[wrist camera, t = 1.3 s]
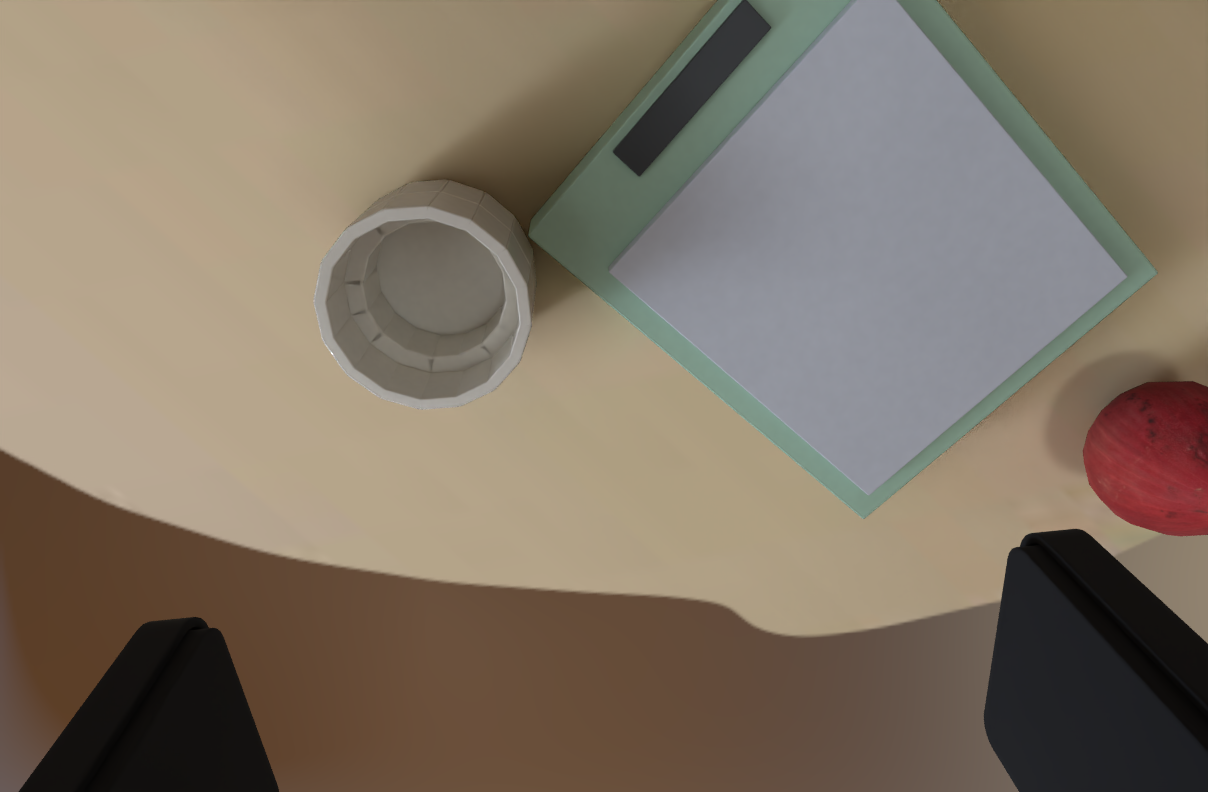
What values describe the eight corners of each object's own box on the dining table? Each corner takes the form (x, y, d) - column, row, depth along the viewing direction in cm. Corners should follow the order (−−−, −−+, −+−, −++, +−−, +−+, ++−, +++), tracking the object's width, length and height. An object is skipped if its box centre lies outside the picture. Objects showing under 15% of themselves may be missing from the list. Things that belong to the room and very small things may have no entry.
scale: (530, 220, 29) (526, 240, 26) (812, -112, 25) (842, -129, 22) (845, 488, 35) (869, 528, 32) (1117, 255, 30) (1171, 277, 28)
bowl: (318, 279, 29) (273, 324, 25) (425, 137, 27) (397, 158, 23) (463, 384, 32) (446, 445, 27) (572, 260, 30) (573, 302, 25)
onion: (1060, 354, 32) (1203, 450, 25) (1198, 348, 32) (1379, 441, 25) (1032, 476, 35) (1154, 594, 27) (1159, 469, 35) (1314, 585, 28)
